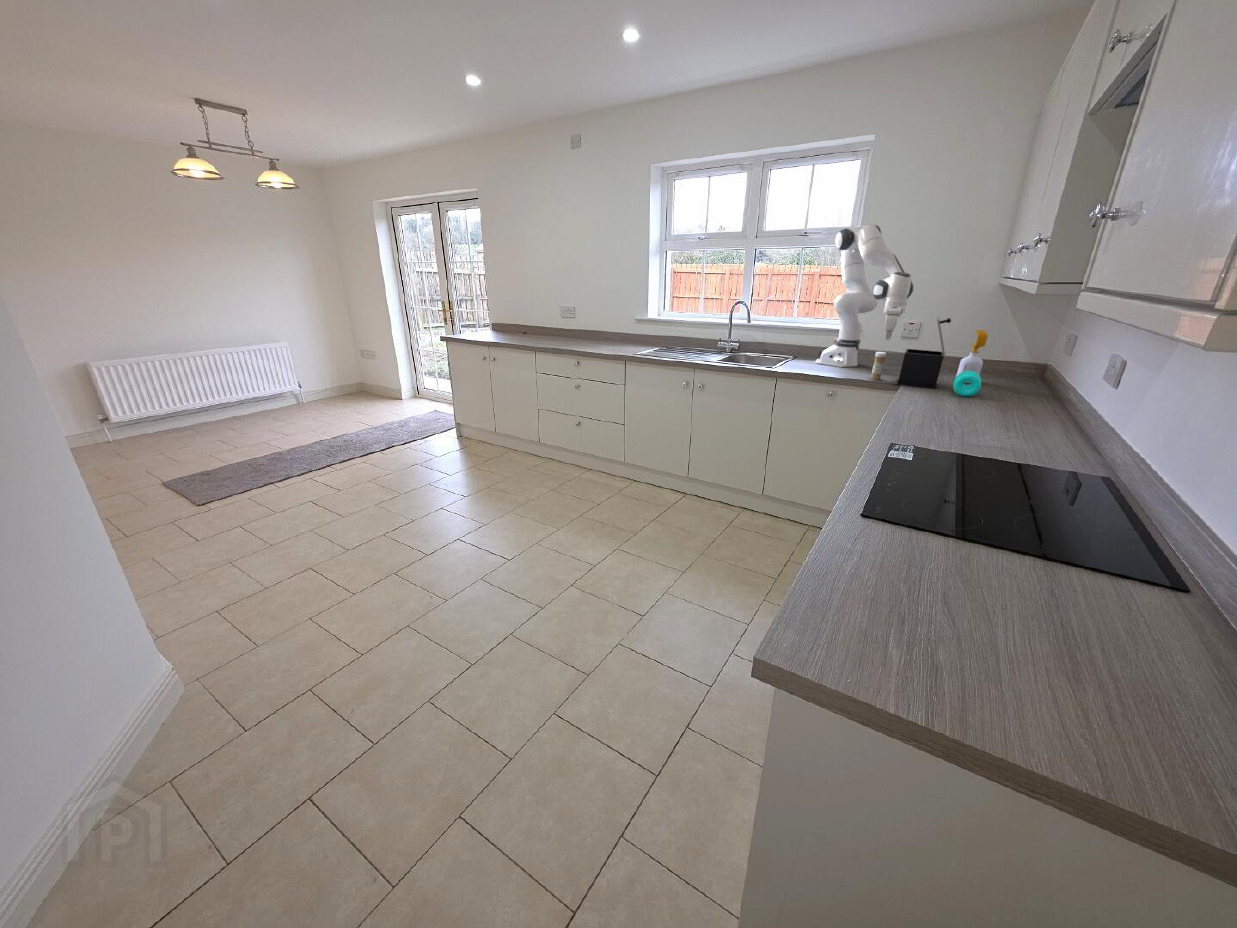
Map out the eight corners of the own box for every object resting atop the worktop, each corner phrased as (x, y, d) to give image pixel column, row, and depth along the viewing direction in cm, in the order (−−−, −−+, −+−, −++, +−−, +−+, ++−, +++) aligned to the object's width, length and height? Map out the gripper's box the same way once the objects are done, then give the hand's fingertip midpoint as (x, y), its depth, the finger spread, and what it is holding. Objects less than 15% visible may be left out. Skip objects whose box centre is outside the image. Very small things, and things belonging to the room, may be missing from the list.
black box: (897, 384, 234) (905, 352, 228) (899, 379, 244) (906, 348, 238) (935, 388, 226) (943, 356, 220) (935, 383, 236) (943, 351, 230)
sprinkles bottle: (872, 377, 247) (878, 351, 241) (882, 379, 243) (888, 352, 238) (868, 379, 244) (874, 352, 239) (877, 380, 241) (883, 353, 235)
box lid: (937, 319, 217) (950, 316, 214) (937, 317, 227) (949, 313, 224) (943, 355, 220) (956, 352, 218) (942, 351, 230) (955, 348, 227)
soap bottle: (970, 379, 244) (985, 329, 234) (980, 384, 236) (996, 332, 226) (951, 379, 245) (965, 329, 235) (961, 383, 236) (976, 332, 227)
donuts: (977, 393, 219) (984, 371, 215) (977, 398, 211) (984, 376, 207) (951, 390, 224) (957, 369, 220) (950, 395, 216) (956, 373, 212)
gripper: (888, 307, 239) (882, 335, 245) (885, 310, 223) (879, 341, 228) (903, 307, 236) (896, 336, 242) (901, 311, 220) (894, 342, 225)
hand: (888, 338), depth 235 cm, fingers open, 8 cm apart
